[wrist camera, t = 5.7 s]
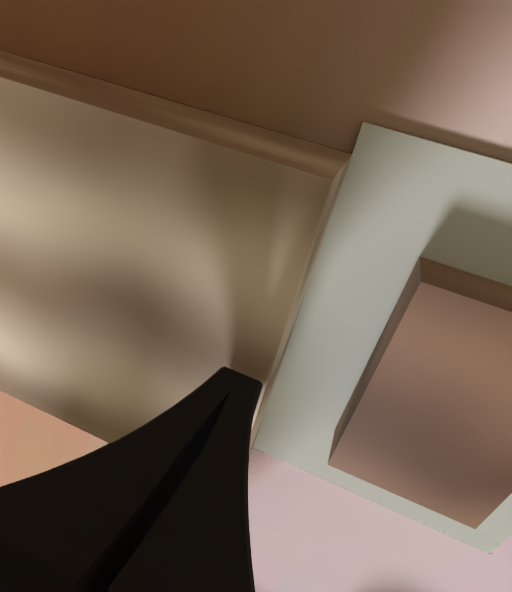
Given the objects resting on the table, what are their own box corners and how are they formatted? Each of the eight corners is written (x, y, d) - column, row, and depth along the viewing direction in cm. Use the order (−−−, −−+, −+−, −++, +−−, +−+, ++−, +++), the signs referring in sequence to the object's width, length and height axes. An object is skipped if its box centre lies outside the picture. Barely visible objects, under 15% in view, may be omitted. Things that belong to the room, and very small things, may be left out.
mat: (488, 547, 18) (489, 554, 18) (254, 443, 21) (253, 447, 20) (818, 249, 10) (829, 253, 10) (363, 121, 12) (362, 122, 12)
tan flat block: (259, 431, 20) (229, 500, 17) (-49, 295, 23) (-125, 330, 20) (352, 154, 13) (332, 180, 9) (-119, 14, 16) (-257, -4, 13)
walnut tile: (327, 464, 16) (335, 429, 18) (475, 529, 15) (468, 485, 17) (420, 281, 11) (419, 256, 13) (646, 357, 10) (613, 319, 12)
